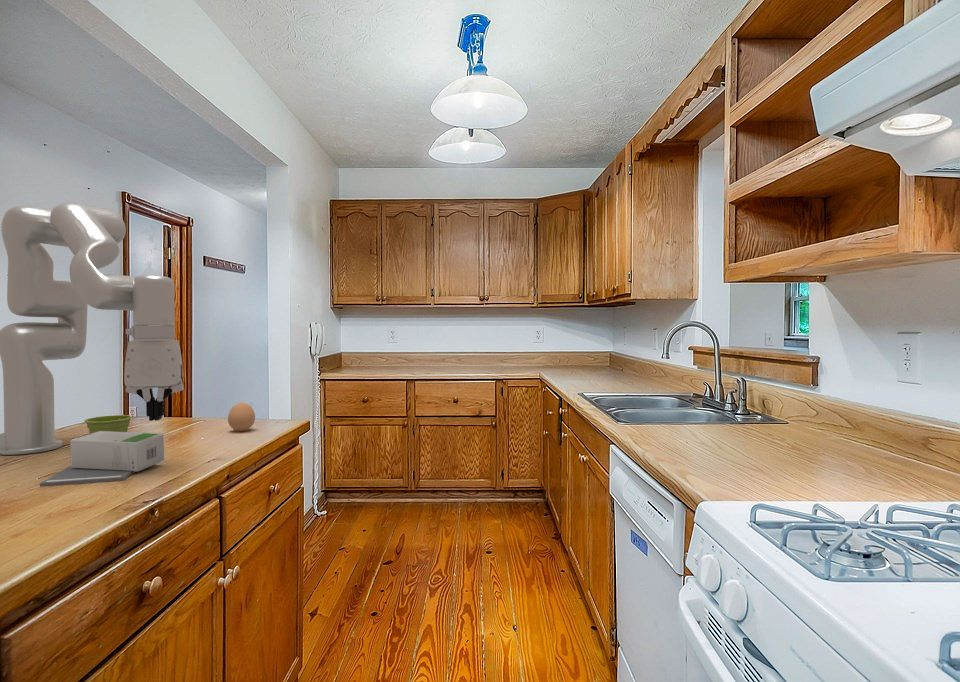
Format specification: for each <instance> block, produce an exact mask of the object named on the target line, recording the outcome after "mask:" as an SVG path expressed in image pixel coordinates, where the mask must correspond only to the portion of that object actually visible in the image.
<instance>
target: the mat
mask: <svg viewBox="0 0 960 682" xmlns="http://www.w3.org/2000/svg"><path fill="white" fill-rule="evenodd" d="M135 472H136V471H123V470H105V469H85V468H71V465H69V466H67V467H65V468H64V469H62V470H60V471H59V472H57V473H55V474H53V475H52V476H49V478H46V479H45V480H43V481H42V482H39V487H49V486H50V487H51V486H52V487H53V486H62V485H64V484H67V485H81V484H93V483H106V482H107V483H108V481H109V482H122V480H123V481H125V480H127V479H128V478H129V477H130V476H131V475H133V474H134V473H135ZM80 483H81V484H80Z"/></svg>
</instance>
